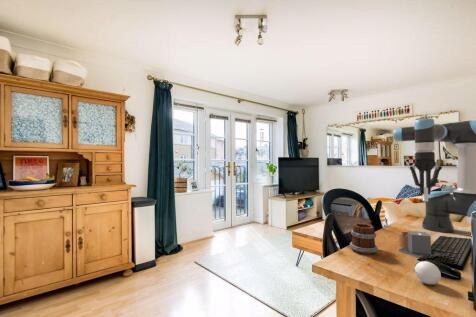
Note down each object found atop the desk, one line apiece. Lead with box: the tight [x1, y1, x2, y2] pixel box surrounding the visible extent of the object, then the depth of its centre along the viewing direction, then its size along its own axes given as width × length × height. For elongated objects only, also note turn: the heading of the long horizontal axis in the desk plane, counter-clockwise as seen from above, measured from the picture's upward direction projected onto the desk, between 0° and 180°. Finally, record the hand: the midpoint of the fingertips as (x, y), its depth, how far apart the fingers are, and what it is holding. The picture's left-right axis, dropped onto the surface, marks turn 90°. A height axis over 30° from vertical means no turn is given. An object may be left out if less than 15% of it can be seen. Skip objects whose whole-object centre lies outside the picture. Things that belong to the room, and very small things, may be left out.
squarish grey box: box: [407, 230, 432, 255], centre depth 113 cm, size 7×7×8 cm
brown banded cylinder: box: [349, 219, 379, 256], centre depth 117 cm, size 12×14×15 cm
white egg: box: [413, 260, 442, 286], centre depth 85 cm, size 10×7×7 cm
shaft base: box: [398, 247, 440, 259], centre depth 113 cm, size 11×11×6 cm
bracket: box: [397, 230, 408, 249], centre depth 124 cm, size 18×8×7 cm, turn 128°
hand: (425, 201), depth 118 cm, fingers closed
